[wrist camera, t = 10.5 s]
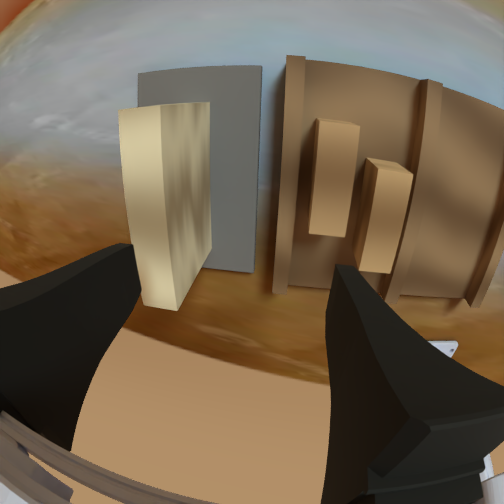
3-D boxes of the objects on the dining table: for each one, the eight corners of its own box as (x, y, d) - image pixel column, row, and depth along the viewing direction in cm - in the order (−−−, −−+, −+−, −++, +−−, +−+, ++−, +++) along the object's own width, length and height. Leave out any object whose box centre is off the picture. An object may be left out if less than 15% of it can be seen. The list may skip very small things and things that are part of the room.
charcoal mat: (254, 269, 22) (253, 273, 22) (154, 258, 23) (151, 261, 23) (262, 66, 15) (261, 65, 15) (141, 74, 16) (137, 73, 16)
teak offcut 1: (338, 216, 18) (344, 237, 16) (307, 213, 19) (308, 233, 16) (350, 122, 16) (360, 126, 13) (316, 117, 16) (319, 120, 13)
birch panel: (211, 248, 21) (177, 311, 15) (185, 245, 21) (143, 305, 15) (209, 102, 16) (160, 105, 10) (179, 103, 17) (118, 110, 11)
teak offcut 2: (379, 249, 19) (390, 273, 16) (351, 246, 19) (358, 270, 17) (396, 162, 16) (413, 174, 13) (366, 157, 16) (378, 168, 14)
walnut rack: (469, 293, 20) (479, 307, 18) (274, 277, 22) (272, 293, 20) (516, 117, 13) (532, 121, 11) (287, 60, 15) (286, 55, 13)
